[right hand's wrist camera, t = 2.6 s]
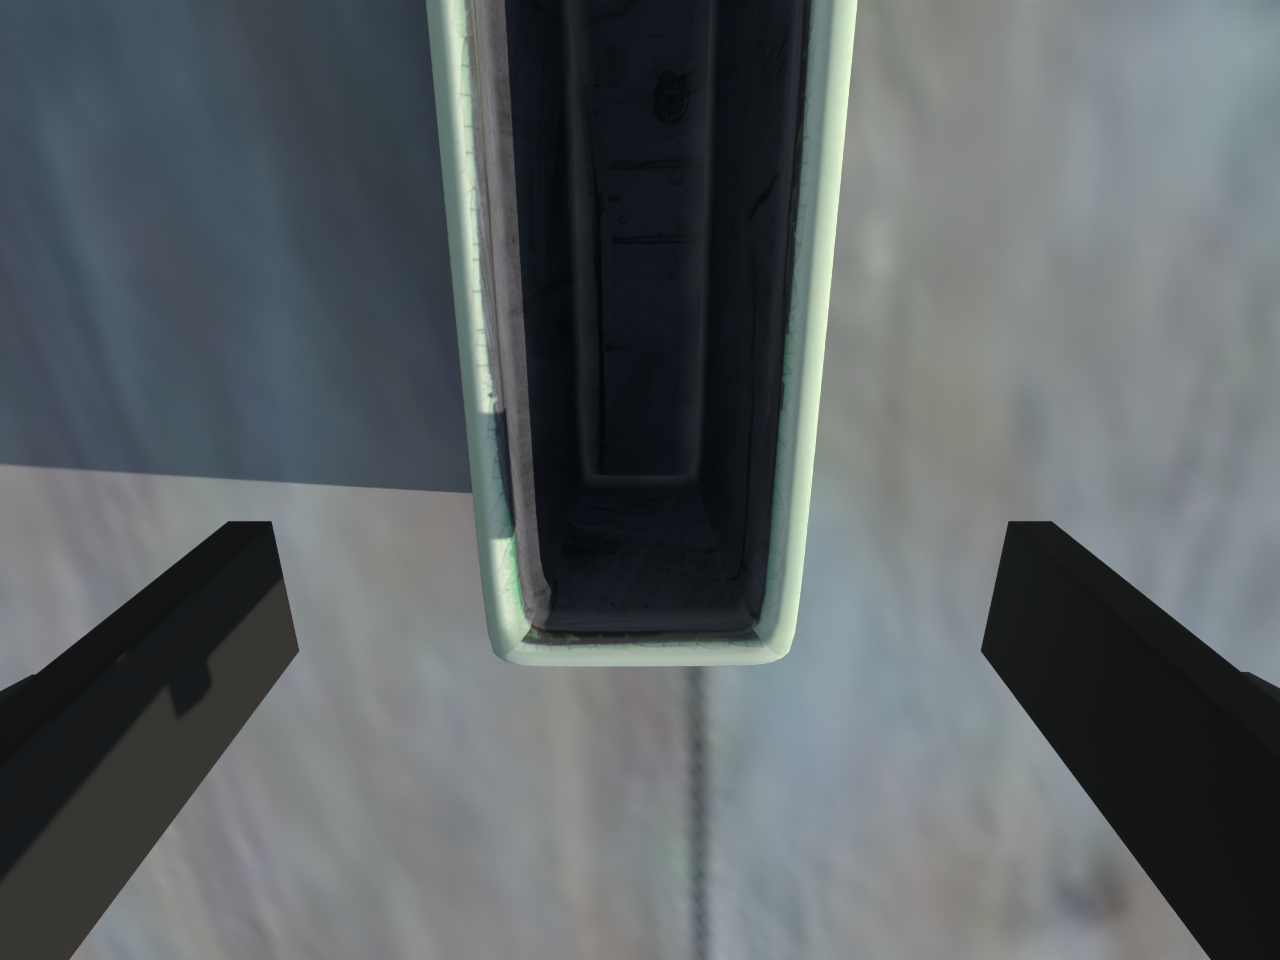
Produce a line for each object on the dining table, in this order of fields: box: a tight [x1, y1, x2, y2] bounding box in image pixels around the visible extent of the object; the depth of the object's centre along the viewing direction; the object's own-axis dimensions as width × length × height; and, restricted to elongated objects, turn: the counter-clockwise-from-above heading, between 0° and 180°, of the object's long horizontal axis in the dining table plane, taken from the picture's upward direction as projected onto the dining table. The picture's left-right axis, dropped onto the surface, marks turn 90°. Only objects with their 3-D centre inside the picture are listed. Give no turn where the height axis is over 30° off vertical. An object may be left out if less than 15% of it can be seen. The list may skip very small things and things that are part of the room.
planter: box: [426, 0, 857, 666], centre depth 15 cm, size 28×7×7 cm, turn 0°
